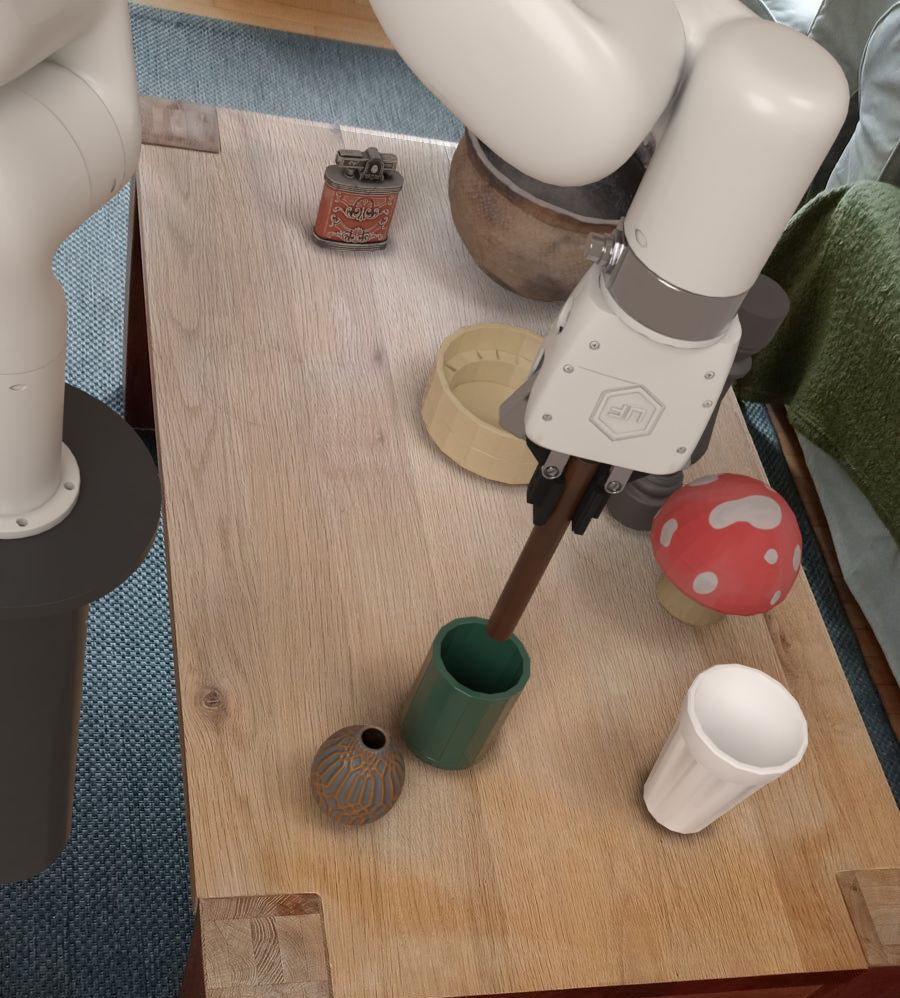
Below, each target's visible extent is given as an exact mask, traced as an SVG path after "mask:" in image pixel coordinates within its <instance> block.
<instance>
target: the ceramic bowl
mask: <svg viewBox="0 0 900 998" xmlns="http://www.w3.org/2000/svg"><path fill="white" fill-rule="evenodd" d="M655 147H656V142H655V138H654V136H653V135H651V137H649V139H648V140H647V141H646V140H645V139H644V140H643V141H642V142H641V144H640V145H639V146H638V148H637V149H636V150H635V152H634V153H633V154H632V156H631V157H630V158H629V159H628V160H627V161H626V162H625V163H624V164H623V165H622V166H621V167H620V168H618V169H617V170H616V171H615V172H613V173H612V174H610V175H608V176H606V177H605V178H603V179H601V180H599V181H597V182H594V183H590V184H587V185H583V186H569V187H561V186H557V185H552V184H548V183H544V182H541V181H539V180H537V179H535V178H532V177H530V176H528V175H526V174H524V173H523V172H521V171H519V170H518V169H516V168H515V167H513V166H512V165H510V164H509V163H507V162H506V161H504V160H503V159H502V158H501V157H499V156H498V155H497V154H496V153H495V152H493V151H492V150H491V149H490V148H489V147H488V146H487V145H485V144H484V143H483V142H482V141H481V140H480V139H479V138H478V137H477V136H476V135H474V134H473V133H472V132H471V131H470V130H469V129H468V128H467V127H466V126H465V125H464V133H463V134H462V136H461V139H460V140H459V142H458V144H457V146H456V148H455V151H454V152H453V156H452V159H451V161H450V167H449V173H448V183H447V184H448V186H447V187H448V189H447V190H448V191H447V192H448V194H447V196H448V201H449V206H450V212H451V213H450V214H451V219H452V221H453V225H454V227H455V230H456V232H457V234H458V235H459V237H460V240H461V241H462V243H463V245H464V246H465V248H466V250H467V251H468V253H469V254H470V256H471V257H472V259H473V260H474V262H475V264H476V265H477V266H478V267H479V268H480V270H481V271H482V272H483V273H484V274H485V275H486V276H487V277H488V278H490V279H491V280H492V281H494V282H495V283H496V284H498V285H499V286H500V287H502V288H503V289H505V290H508V291H510V292H512V293H514V294H516V295H518V296H520V297H523V298H525V299H529V300H533V301H538V302H544V303H558V302H559V303H560V302H566V301H567V299H568V298H569V296H570V295H571V293H572V291H573V290H574V289H575V287H576V286H577V284H578V283H579V282H580V280H581V279H582V278H583V276H584V275H585V274H586V272H587V271H588V270H589V269H590V267H591V266H592V265H593V264H594V263H595V262H596V261H592V260H588V259H585V258H584V257H583V251H584V246H585V242H586V239H587V237H588V235H589V233H590V232H595V233H598V234H602V235H603V234H604V233H608V234H611V233H612V231H613V230H614V229H616V228H617V226H618V223H619V221H620V219H621V217H622V216H623V217H626V215H627V212H628V210H629V208H630V206H631V203H632V201H633V199H634V197H635V194H636V192H637V190H638V188H639V185H640V183H641V181H642V179H643V176H644V174H645V172H646V170H647V167H648V165H649V163H650V161H651V158H652V156H653V154H654V151H655Z"/></svg>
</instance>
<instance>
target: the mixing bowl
mask: <svg viewBox="0 0 900 998" xmlns="http://www.w3.org/2000/svg"><path fill="white" fill-rule="evenodd" d="M544 339H545V337H544V336H542V335H540V334H538V333H536V332H534V331H532V330H529V329H527V328H523V327H519V326H515V325H511V324H508V323H499V322H498V323H497V322H479V323H474V324H470V325H466V326H462V327H459V328H458V329H457V330H455V331H454V332H452V333H450V335H448V336H446V337H445V338H444V340H443V342H442V343H441V346H440V347H439V348H438V351H437V352H436V355H435V358H434V362H433V364H432V367H431V370H430V372H429V376H428V378H427V381H426V383H425V387H424V390H423V393H422V396H421V410H420V411H421V413H420V414H421V418H422V420H423V422H424V425H425V427H426V431H427V433H428V435H429V437H430V438H431V439H432V440H433V442H434V443H435V445H437V447H438V449H440V451H441V452H442V453H444V455H446V456H447V457H448V458H450V459H451V460H452V461H454V462H455V463H456V464H457V465H459V466H460V467H462V468H463V469H464V470H467V471H469V472H471V473H473V474H475V475H477V476H480V477H482V478H483V479H485V480H486V479H487V480H492V481H495V482H500V483H503V484H508V485H529V482H530V480H531V478H532V476H533V474H534V472H535V469H536V467H537V465H538V461H537V460H536V458H535V457H534V455H533V454H532V452H531V451H530V449H529V448H528V446H527V444H526V441H524V440H523V439H519V438H517V437H516V436H514V435H513V434H511V433H509V432H508V431H506V430H505V429H503V428H502V427H501V426H500V425H499V406H500V405H501V404H502V403H503V402H504V401H505V400H506V399H507V398H508V397H509V396H511V395H512V394H513V393H514V392H515V391H516V390H517V389H518V388H519V387H520V386H521V385H523V384H524V383H525V382H526V380H527V376H528V373H529V371H530V368H531V366H532V363H533V361H534V359H535V357H536V355H537V353H538V351H539V349H540V347H541V345H542V343H543V341H544ZM545 416H546V415H545Z"/></svg>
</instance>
